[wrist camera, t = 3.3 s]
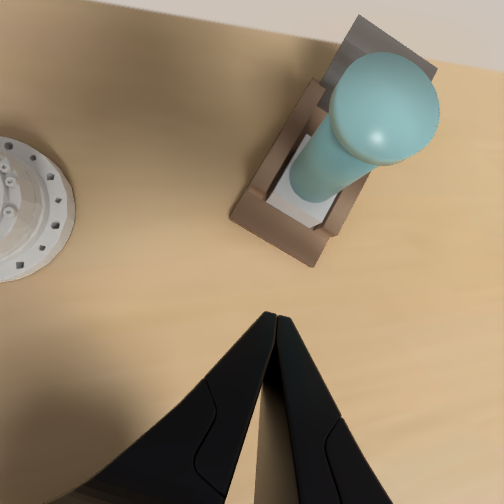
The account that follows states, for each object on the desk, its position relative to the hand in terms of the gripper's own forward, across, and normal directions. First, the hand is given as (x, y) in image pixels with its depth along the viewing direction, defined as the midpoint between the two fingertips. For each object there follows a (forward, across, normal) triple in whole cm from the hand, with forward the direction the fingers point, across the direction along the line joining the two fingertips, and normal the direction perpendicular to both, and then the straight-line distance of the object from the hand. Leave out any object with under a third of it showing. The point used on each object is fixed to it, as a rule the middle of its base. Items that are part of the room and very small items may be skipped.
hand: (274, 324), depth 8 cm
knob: (+16, -1, -1) cm, 16 cm away
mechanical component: (+9, +20, +4) cm, 22 cm away
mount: (+17, -1, -2) cm, 17 cm away
